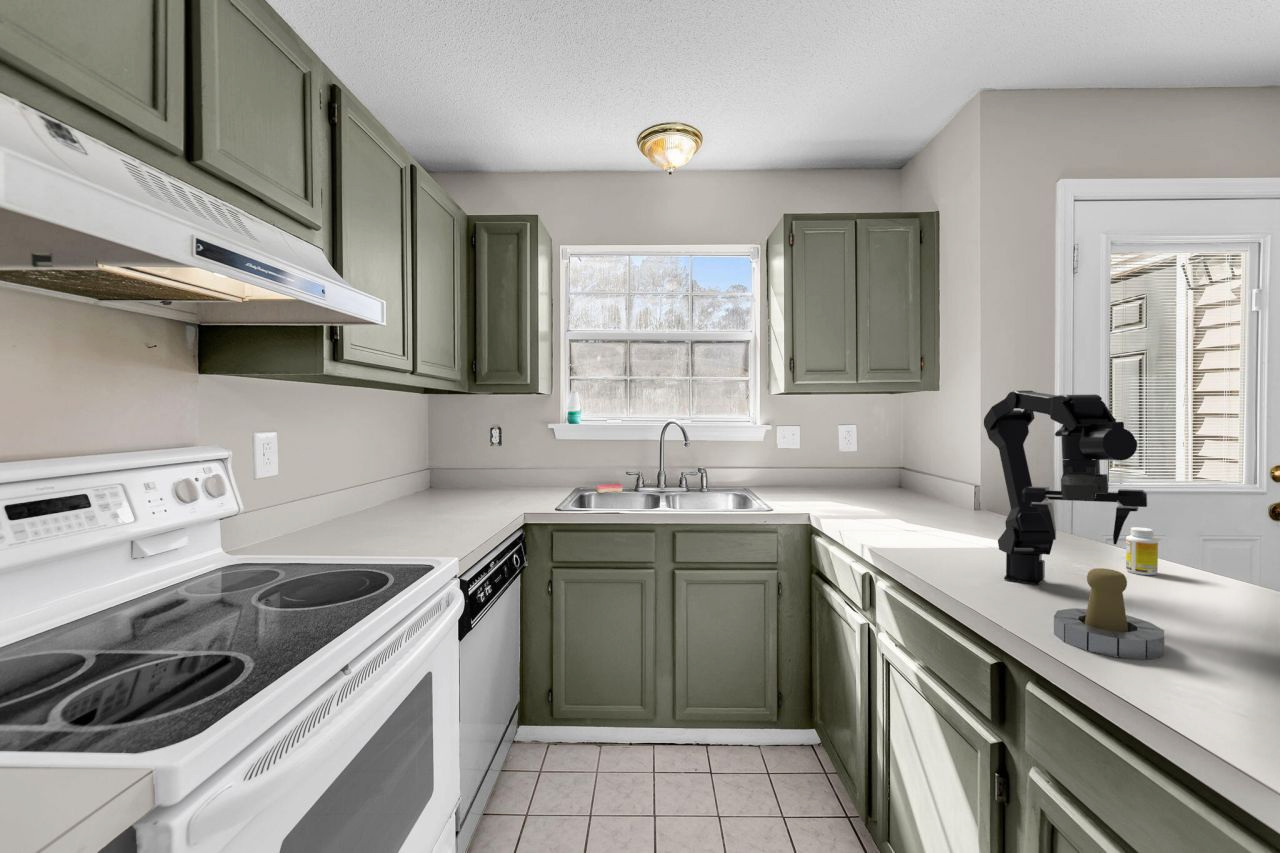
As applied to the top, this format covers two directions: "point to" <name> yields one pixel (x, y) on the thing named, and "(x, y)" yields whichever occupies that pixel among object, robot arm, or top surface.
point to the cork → (1106, 600)
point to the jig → (1110, 636)
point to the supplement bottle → (1142, 552)
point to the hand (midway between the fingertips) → (1083, 541)
